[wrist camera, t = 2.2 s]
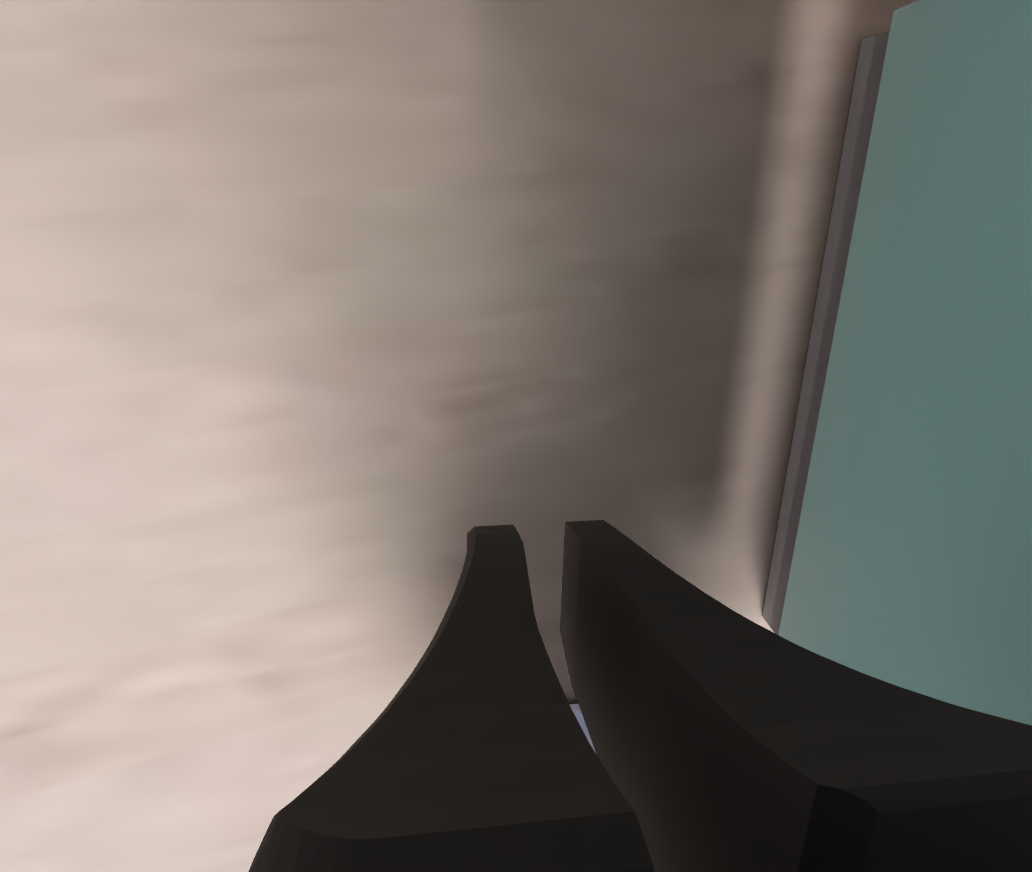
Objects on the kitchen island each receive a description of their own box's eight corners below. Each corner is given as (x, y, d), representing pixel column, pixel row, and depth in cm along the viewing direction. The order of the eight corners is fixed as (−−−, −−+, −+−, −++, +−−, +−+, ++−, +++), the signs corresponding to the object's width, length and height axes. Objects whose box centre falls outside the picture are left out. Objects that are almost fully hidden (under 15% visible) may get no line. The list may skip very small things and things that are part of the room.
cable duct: (1017, 597, 27) (1112, 669, 24) (761, 615, 26) (820, 695, 22) (1195, 51, 20) (1368, 32, 17) (861, 38, 19) (969, 14, 15)
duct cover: (961, 1193, 12) (895, 1182, 12) (800, 704, 22) (766, 701, 22) (1622, -254, 5) (1453, -247, 5) (944, 11, 15) (893, 11, 15)
